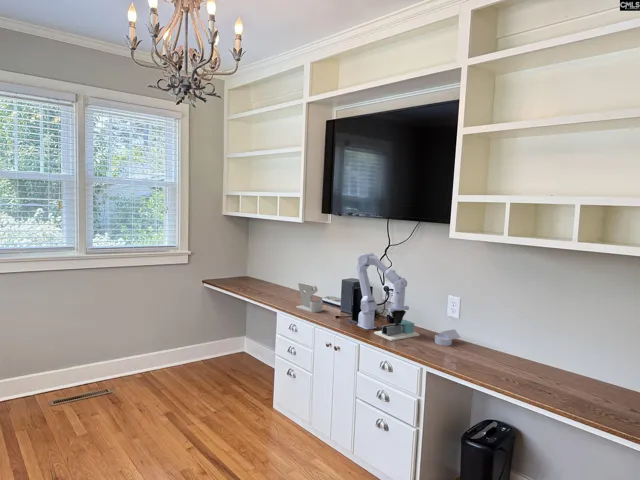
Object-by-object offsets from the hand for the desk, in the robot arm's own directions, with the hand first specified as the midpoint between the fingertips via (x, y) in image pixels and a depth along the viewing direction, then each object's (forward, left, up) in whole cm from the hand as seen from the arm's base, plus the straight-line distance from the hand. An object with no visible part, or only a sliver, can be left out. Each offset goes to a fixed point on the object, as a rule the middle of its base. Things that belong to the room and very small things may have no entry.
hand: (397, 323), depth 252 cm
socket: (0, +7, -6) cm, 9 cm away
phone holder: (-67, -15, -7) cm, 69 cm away
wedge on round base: (+22, +16, -7) cm, 28 cm away
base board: (0, 0, -7) cm, 7 cm away
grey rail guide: (0, -4, -6) cm, 7 cm away
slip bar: (0, +4, -5) cm, 6 cm away
